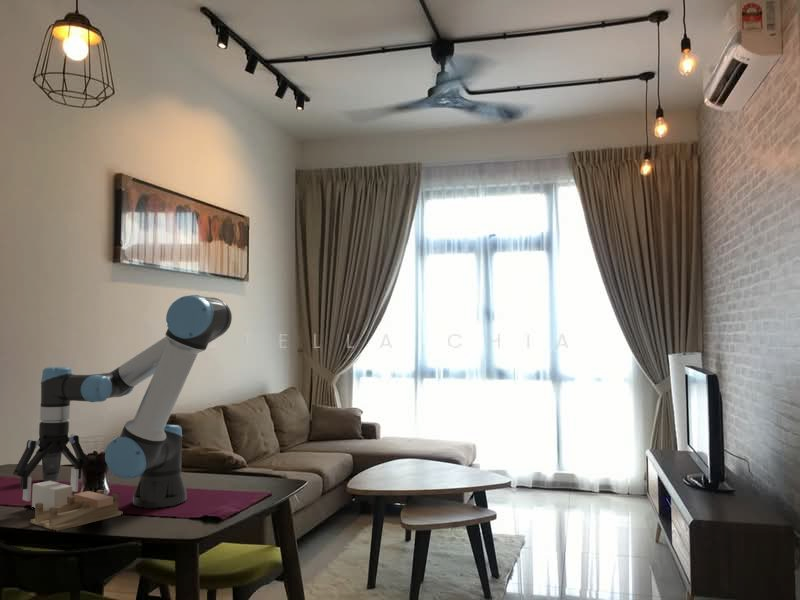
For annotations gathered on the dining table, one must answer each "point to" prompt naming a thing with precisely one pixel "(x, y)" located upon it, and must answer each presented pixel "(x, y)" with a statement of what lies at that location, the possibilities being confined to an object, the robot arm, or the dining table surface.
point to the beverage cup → (51, 466)
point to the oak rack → (74, 513)
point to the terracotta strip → (94, 499)
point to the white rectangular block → (50, 494)
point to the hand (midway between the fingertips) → (51, 495)
